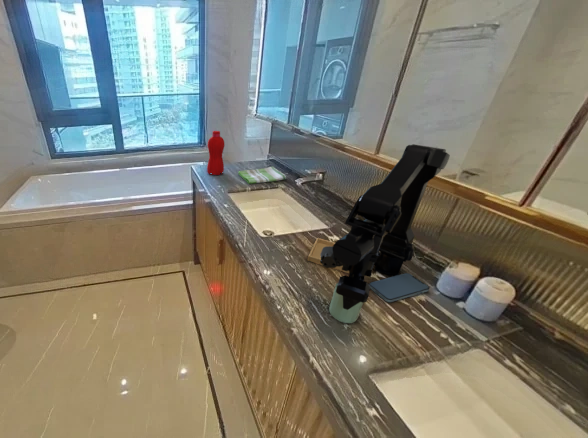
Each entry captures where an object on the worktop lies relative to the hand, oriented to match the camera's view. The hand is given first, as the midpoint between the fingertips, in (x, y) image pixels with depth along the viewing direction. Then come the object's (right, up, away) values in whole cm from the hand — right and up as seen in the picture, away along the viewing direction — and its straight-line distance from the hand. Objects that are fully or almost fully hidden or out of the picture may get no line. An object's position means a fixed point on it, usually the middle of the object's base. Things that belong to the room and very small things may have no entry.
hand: (348, 297), depth 72 cm
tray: (+8, +7, +24) cm, 26 cm away
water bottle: (-27, +48, +101) cm, 115 cm away
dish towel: (-1, +44, +93) cm, 103 cm away
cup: (0, -5, +3) cm, 6 cm away
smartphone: (+20, -1, +10) cm, 22 cm away
